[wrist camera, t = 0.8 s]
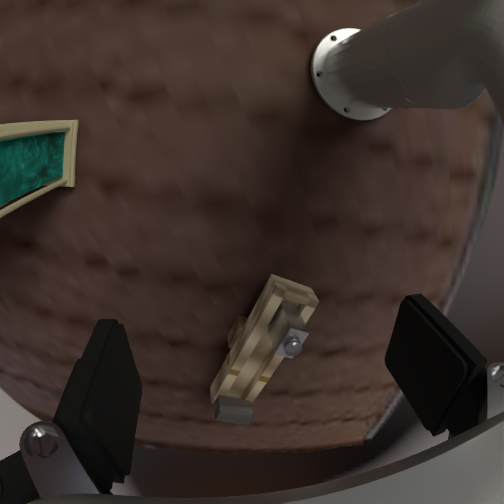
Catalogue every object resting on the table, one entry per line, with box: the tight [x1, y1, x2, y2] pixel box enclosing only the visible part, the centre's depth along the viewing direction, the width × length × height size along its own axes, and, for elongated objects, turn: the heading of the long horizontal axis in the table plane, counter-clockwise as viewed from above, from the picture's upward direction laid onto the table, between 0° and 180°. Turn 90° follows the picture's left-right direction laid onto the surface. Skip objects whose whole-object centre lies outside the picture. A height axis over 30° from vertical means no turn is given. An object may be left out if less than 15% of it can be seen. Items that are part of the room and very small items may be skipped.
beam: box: [210, 274, 319, 425], centre depth 41 cm, size 22×7×10 cm, turn 155°
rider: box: [267, 300, 309, 358], centre depth 36 cm, size 4×2×7 cm, turn 155°
